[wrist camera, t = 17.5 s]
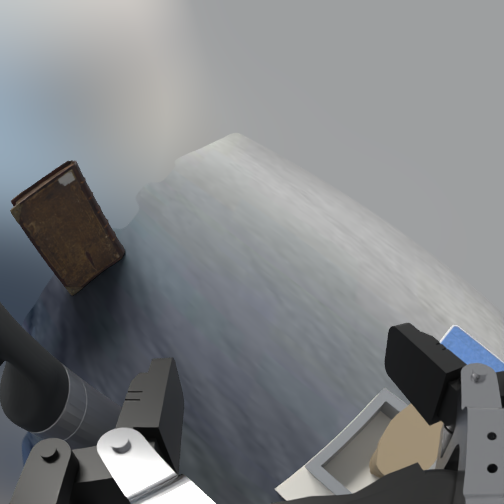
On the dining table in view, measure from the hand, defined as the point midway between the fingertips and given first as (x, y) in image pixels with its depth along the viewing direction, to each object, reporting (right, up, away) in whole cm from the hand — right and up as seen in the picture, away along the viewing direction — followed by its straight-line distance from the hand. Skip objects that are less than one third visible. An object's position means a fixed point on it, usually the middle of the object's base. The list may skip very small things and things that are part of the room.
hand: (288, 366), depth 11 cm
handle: (+13, -20, +16) cm, 29 cm away
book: (-37, 0, +56) cm, 67 cm away
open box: (+12, -22, +17) cm, 30 cm away
